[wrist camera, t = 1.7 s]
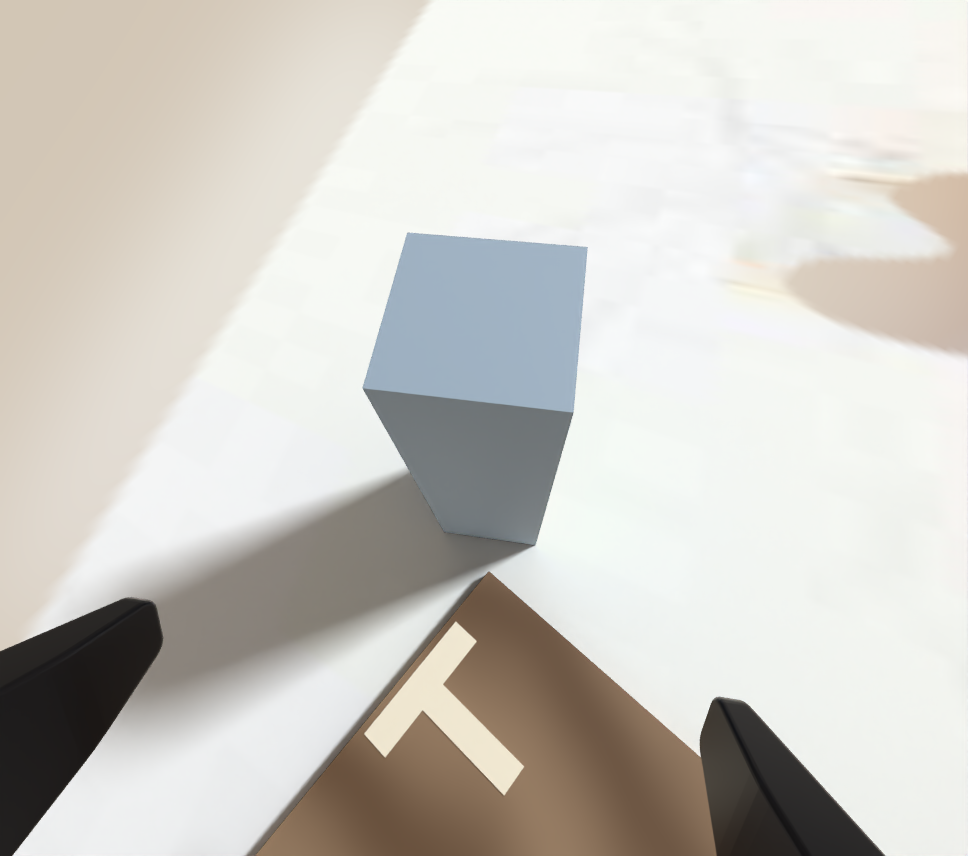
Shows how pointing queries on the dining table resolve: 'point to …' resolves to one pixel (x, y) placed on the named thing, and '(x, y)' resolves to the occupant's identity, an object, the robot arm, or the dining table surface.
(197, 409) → the dining table surface
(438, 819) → the board
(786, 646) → the dining table surface
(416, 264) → the slate-blue block
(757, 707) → the dining table surface
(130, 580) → the dining table surface
